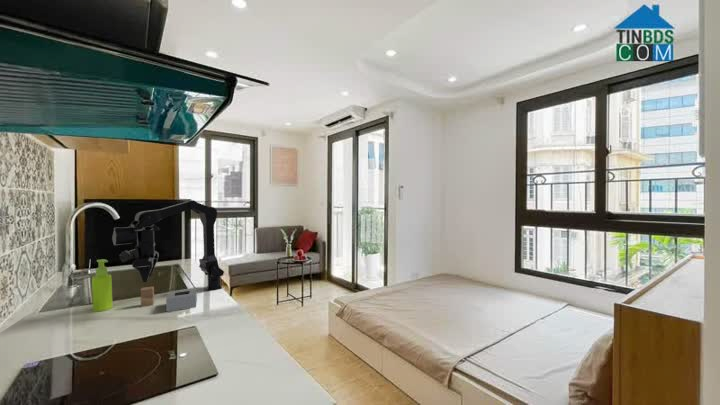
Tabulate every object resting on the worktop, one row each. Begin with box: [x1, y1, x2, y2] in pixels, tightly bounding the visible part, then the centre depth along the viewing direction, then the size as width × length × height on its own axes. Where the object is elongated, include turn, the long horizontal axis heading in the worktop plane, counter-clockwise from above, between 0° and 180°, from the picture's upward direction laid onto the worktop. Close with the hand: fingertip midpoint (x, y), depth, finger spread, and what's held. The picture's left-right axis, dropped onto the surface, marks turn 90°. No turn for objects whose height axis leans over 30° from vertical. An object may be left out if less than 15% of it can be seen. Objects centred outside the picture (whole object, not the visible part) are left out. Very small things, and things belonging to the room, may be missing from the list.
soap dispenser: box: [91, 258, 113, 313], centre depth 117 cm, size 6×7×20 cm
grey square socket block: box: [165, 287, 198, 312], centre depth 120 cm, size 10×10×5 cm
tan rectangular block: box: [140, 286, 155, 308], centre depth 121 cm, size 3×4×7 cm
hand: (147, 279), depth 121 cm, fingers open, 9 cm apart
